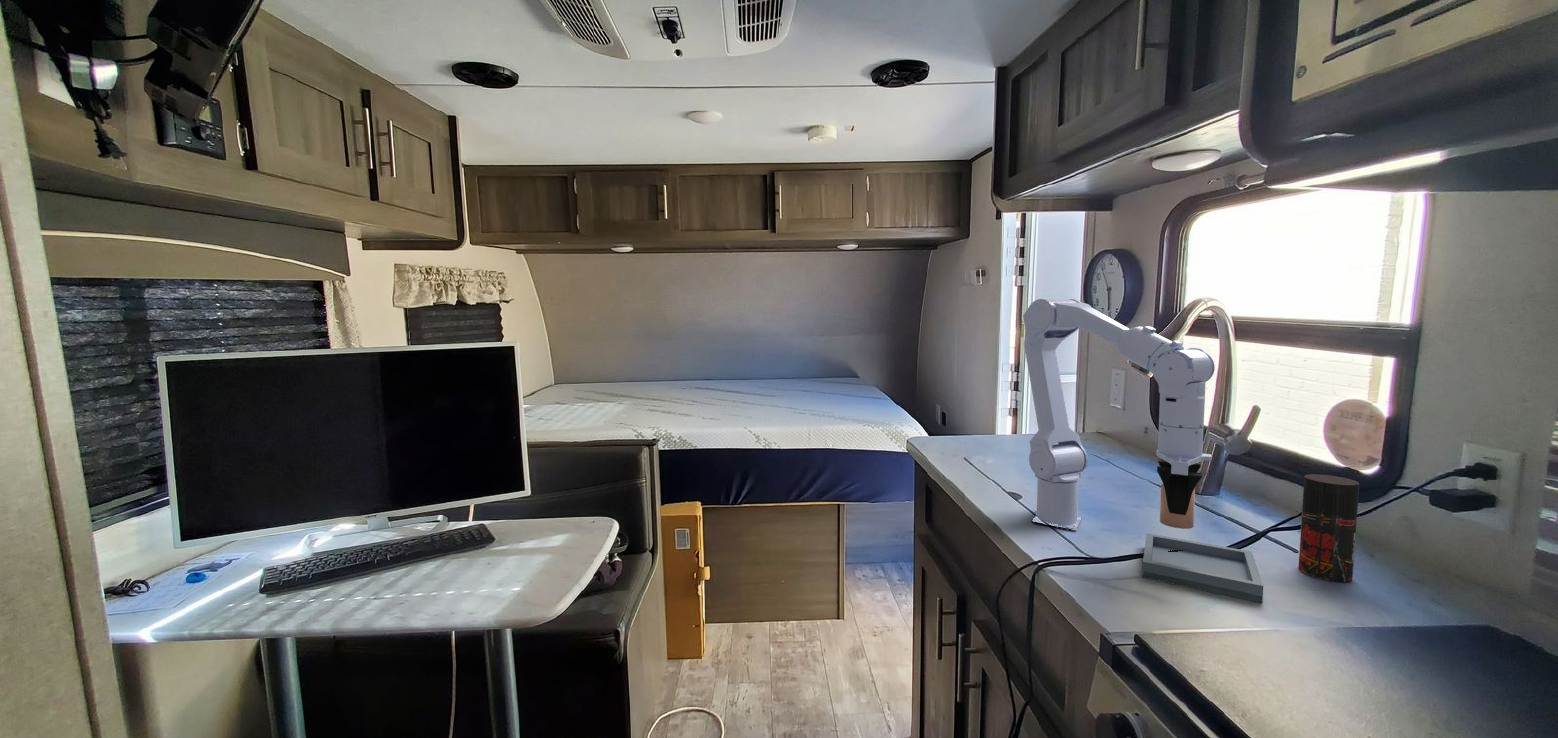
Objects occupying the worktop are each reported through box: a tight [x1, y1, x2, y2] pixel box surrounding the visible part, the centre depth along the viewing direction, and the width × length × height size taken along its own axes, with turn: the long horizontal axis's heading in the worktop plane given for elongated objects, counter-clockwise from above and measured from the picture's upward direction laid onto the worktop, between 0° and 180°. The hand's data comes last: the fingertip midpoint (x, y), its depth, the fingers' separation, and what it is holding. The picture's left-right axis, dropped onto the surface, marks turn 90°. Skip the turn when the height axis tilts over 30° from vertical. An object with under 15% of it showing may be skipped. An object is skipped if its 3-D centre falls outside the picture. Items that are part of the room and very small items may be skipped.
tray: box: [1142, 532, 1264, 604], centre depth 86 cm, size 14×14×2 cm
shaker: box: [1159, 483, 1196, 530], centre depth 87 cm, size 4×4×8 cm
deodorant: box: [1297, 473, 1360, 584], centre depth 84 cm, size 6×6×15 cm
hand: (1177, 509), depth 87 cm, fingers closed on shaker, 4 cm apart
